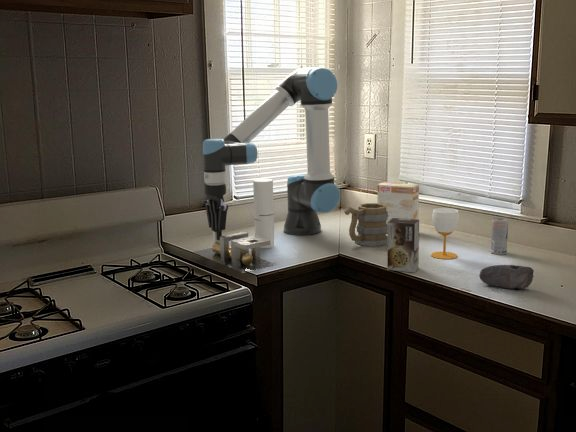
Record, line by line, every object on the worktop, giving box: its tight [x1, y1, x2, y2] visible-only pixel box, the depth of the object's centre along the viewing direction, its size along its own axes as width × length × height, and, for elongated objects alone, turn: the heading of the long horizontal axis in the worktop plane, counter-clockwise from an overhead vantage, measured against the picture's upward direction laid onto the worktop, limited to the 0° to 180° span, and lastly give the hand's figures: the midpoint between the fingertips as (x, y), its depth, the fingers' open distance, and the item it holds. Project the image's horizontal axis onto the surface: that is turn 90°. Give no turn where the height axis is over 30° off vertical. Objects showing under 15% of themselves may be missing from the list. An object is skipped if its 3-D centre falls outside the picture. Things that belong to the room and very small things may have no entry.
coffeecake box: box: [376, 181, 420, 234], centre depth 253 cm, size 15×7×20 cm, turn 58°
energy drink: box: [490, 217, 509, 256], centre depth 222 cm, size 5×5×12 cm
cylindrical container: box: [252, 178, 275, 249], centre depth 235 cm, size 7×7×25 cm
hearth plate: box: [193, 247, 278, 274], centre depth 222 cm, size 14×33×1 cm, turn 37°
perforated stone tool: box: [479, 264, 535, 290], centre depth 187 cm, size 15×5×7 cm, turn 61°
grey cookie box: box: [386, 218, 420, 273], centre depth 206 cm, size 9×6×16 cm
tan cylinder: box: [211, 242, 253, 265], centre depth 220 cm, size 20×4×4 cm, turn 37°
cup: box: [430, 207, 460, 260], centre depth 220 cm, size 9×9×16 cm
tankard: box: [344, 202, 388, 247], centre depth 238 cm, size 20×13×15 cm, turn 124°
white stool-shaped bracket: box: [230, 235, 270, 267], centre depth 212 cm, size 10×8×8 cm
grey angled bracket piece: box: [220, 231, 250, 262], centre depth 220 cm, size 10×2×8 cm, turn 128°
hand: (217, 248), depth 229 cm, fingers closed
